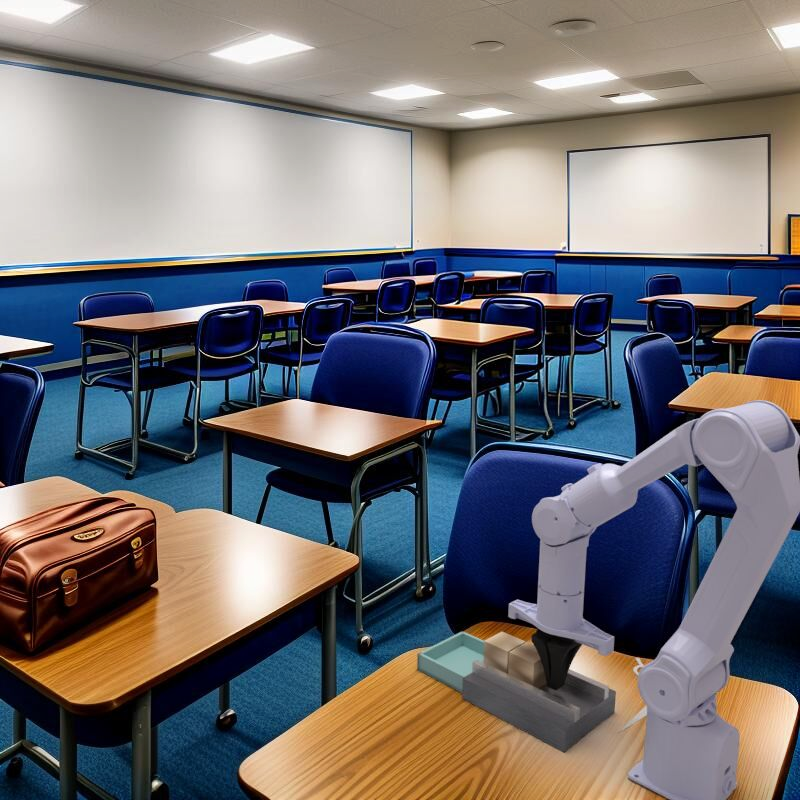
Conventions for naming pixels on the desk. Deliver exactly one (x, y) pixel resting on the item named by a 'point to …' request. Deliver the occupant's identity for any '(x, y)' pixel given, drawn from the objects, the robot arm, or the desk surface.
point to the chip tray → (451, 659)
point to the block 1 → (500, 650)
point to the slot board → (541, 704)
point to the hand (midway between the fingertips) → (555, 685)
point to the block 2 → (526, 665)
